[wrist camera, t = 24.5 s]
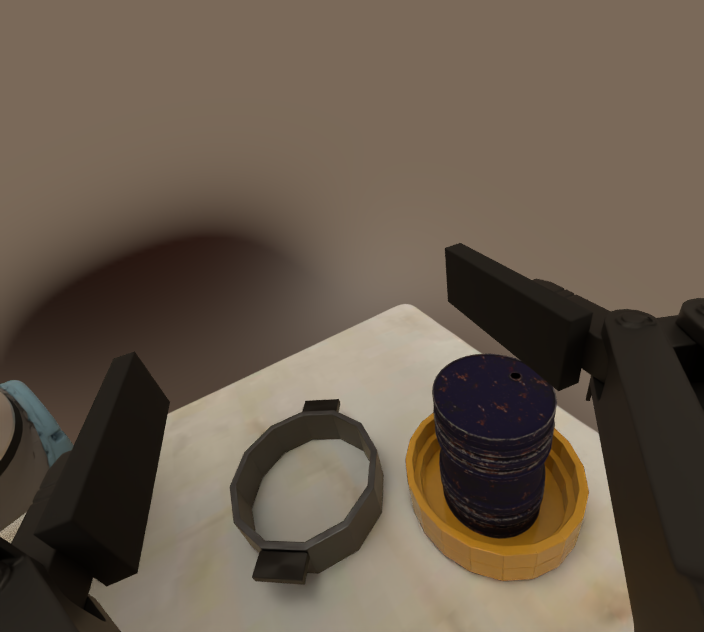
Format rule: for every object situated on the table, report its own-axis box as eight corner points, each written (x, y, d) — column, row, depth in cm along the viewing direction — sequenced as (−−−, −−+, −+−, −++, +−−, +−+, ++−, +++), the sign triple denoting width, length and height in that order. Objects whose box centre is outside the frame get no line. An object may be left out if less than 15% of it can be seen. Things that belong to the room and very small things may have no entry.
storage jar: (489, 562, 32) (491, 465, 24) (423, 479, 40) (408, 385, 32) (564, 502, 35) (588, 397, 27) (489, 435, 43) (490, 339, 35)
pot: (377, 606, 31) (367, 583, 29) (215, 593, 35) (193, 571, 32) (386, 420, 48) (380, 395, 46) (277, 424, 52) (266, 400, 49)
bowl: (556, 630, 28) (564, 604, 25) (384, 519, 38) (375, 490, 35) (592, 466, 38) (601, 433, 35) (448, 412, 47) (446, 383, 44)
